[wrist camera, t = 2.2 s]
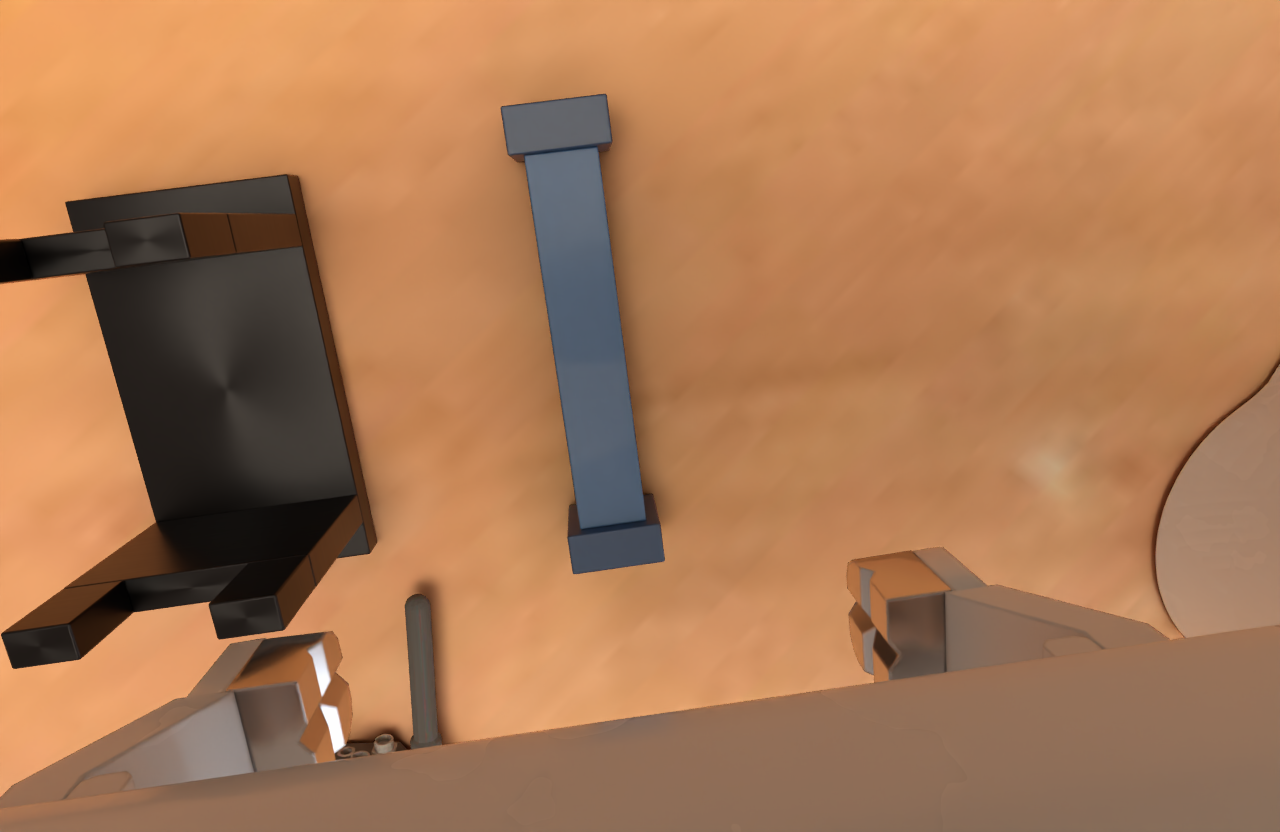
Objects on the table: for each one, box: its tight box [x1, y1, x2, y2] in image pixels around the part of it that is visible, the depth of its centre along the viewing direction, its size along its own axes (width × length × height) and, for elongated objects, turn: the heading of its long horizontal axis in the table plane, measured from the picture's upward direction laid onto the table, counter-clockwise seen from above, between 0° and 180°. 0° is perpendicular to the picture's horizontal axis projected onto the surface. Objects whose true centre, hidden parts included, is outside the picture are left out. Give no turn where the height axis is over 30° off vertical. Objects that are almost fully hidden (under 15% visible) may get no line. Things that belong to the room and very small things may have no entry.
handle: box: [501, 94, 665, 574], centre depth 32 cm, size 4×17×4 cm, turn 7°
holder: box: [0, 174, 377, 669], centre depth 28 cm, size 8×15×10 cm, turn 7°
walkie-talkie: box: [335, 594, 442, 760], centre depth 35 cm, size 9×4×20 cm
